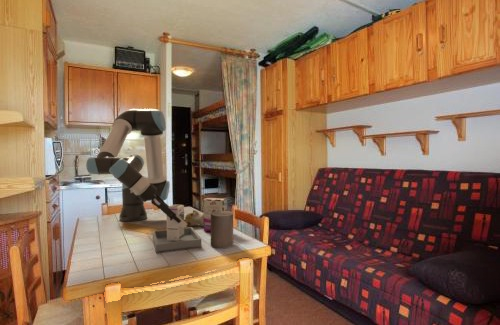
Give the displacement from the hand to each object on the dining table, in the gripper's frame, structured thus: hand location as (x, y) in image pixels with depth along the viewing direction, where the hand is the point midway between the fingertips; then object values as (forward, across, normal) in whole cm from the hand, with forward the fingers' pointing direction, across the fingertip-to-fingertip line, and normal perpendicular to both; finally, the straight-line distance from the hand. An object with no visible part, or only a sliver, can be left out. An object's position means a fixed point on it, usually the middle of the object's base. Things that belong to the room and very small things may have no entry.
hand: (183, 224), depth 123 cm
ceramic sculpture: (+13, -25, +1) cm, 28 cm away
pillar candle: (+16, +10, +4) cm, 20 cm away
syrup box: (+2, 0, -7) cm, 7 cm away
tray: (+3, 0, -8) cm, 9 cm away
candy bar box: (+18, -11, +7) cm, 22 cm away
